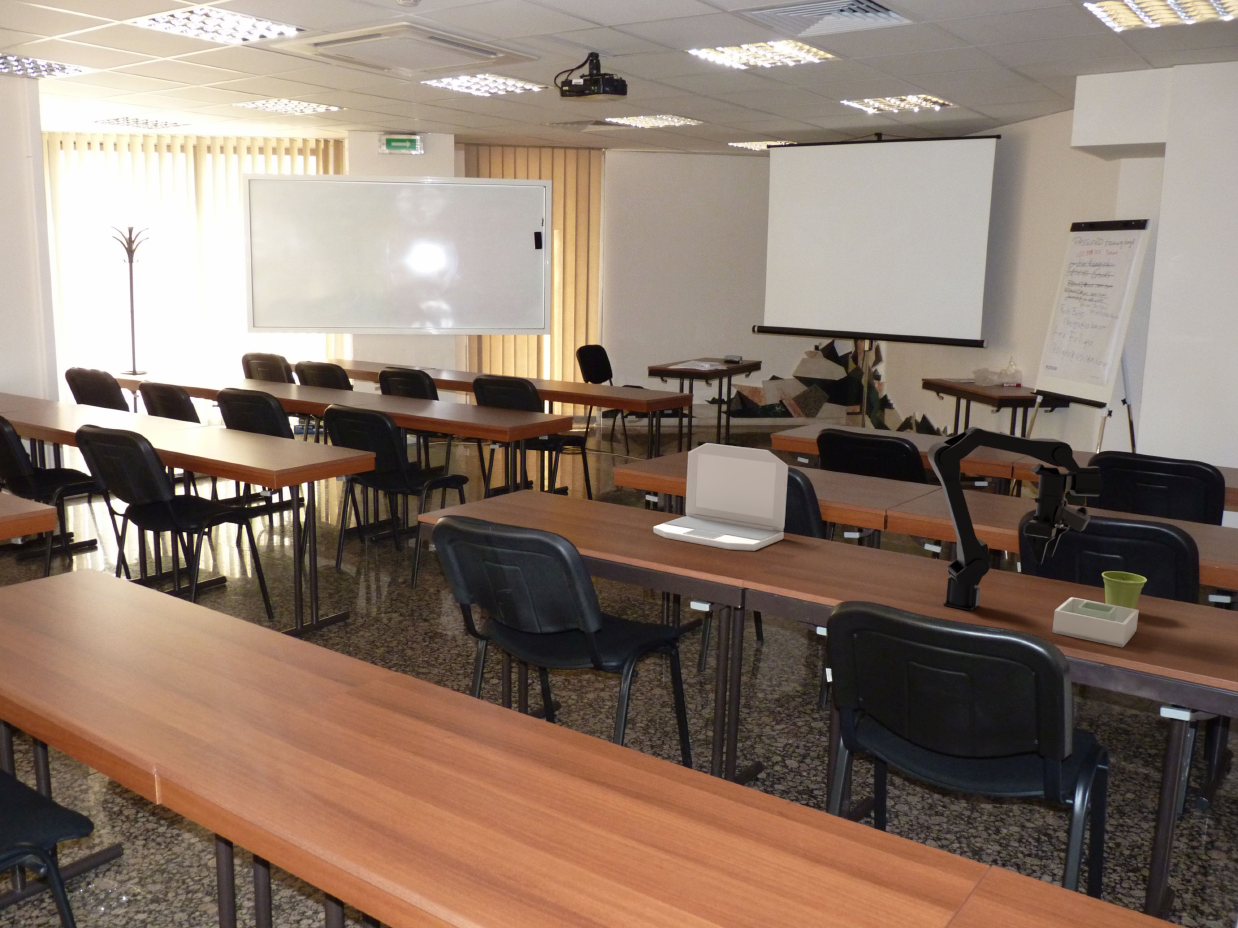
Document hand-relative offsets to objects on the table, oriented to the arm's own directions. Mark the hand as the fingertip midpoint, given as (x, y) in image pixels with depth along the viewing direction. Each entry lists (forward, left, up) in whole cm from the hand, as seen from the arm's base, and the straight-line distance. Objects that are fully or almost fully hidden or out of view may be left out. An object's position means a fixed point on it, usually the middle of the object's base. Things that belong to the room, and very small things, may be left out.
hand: (1044, 560), depth 232 cm
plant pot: (+15, +12, -12) cm, 23 cm away
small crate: (+14, -9, -11) cm, 20 cm away
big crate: (+14, -9, -12) cm, 21 cm away
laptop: (-95, +9, -13) cm, 96 cm away
